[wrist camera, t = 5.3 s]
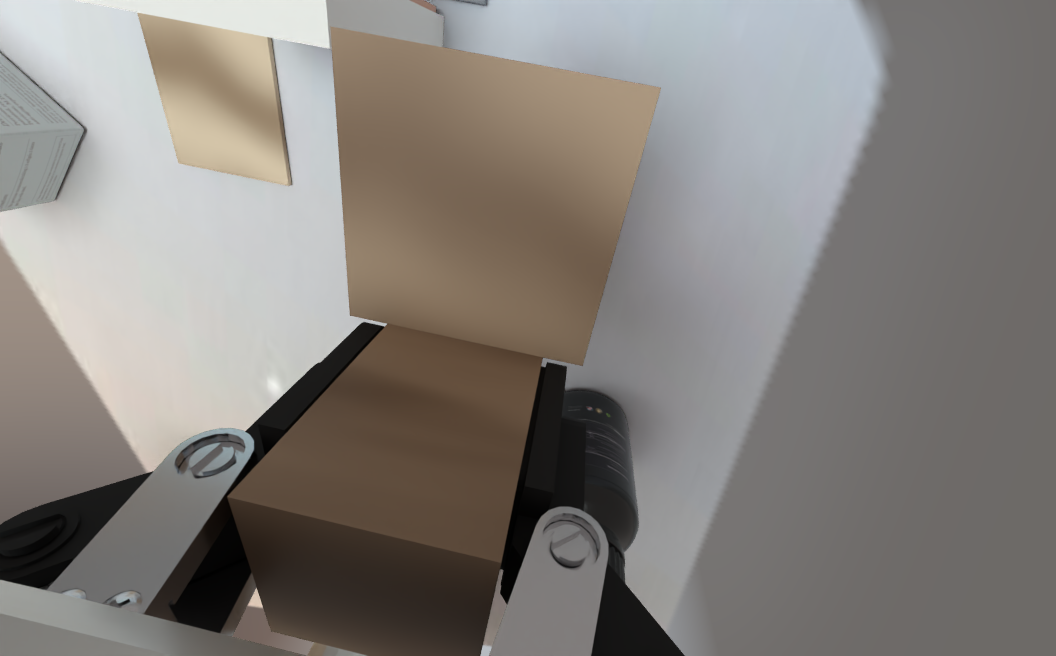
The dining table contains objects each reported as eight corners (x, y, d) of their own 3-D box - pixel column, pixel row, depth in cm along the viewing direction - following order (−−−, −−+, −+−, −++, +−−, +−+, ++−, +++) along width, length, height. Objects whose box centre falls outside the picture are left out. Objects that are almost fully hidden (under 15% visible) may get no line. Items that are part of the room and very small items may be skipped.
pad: (291, 184, 25) (288, 186, 24) (182, 162, 25) (178, 163, 25) (265, -4, 20) (261, -5, 20) (131, -28, 20) (125, -30, 20)
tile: (442, 66, 20) (329, 49, 12) (290, 37, 21) (74, 0, 12) (444, 8, 19) (321, -57, 11) (282, -21, 20) (38, -107, 11)
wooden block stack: (553, 454, 13) (526, 696, 8) (370, 412, 13) (222, 618, 8) (654, 88, 8) (775, 64, 3) (353, 32, 8) (-91, -92, 3)
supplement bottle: (608, 464, 33) (613, 636, 22) (526, 438, 32) (494, 599, 22) (644, 403, 29) (670, 574, 19) (553, 373, 29) (529, 530, 19)
